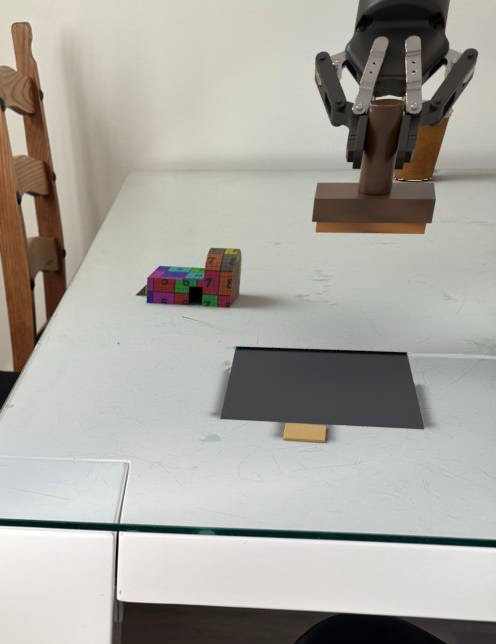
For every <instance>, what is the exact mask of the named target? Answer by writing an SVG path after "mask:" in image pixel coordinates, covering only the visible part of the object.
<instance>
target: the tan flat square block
mask: <svg viewBox="0 0 496 644" xmlns="http://www.w3.org/2000/svg"><path fill="white" fill-rule="evenodd" d="M326 439H327V425H323V424H307V423H287V422H285V425H284V431H283V435H282V441H287V442H299V443H300V442H301V443H317V444H325V443H326Z"/></svg>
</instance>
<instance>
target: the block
mask: <svg viewBox="0 0 496 644" xmlns="http://www.w3.org/2000/svg"><path fill="white" fill-rule="evenodd" d="M241 273H242V250H241V248H230V247H228V248H227V247H210V248H209V250H208V252H207V255H206V259H205V263H204V267H193V266H192V267H191V266H190V267H189V266H172V265H159V266H158V267H156V268H155V270H154V271H152V272H151V273H150V274H149V275H148V276H147V277H146V284H145V285H144V286H143V287H142V288H141V289H140V290H139V291H138V292H137V293H136V294H135V296H137V297H138V296H139V297H146V304H159V305H178V306H189V305H190V293H191V292H190V291H191V288H195V289H198V293H200V294H201V293H202V297H201V299H202V300H201V307H213V308H229V309H230V308H231V307H232V306H233V304H234V303H235V301H236V299H237V298H238V297H239V295H240V290H241V289H240V287H241V275H242V274H241Z"/></svg>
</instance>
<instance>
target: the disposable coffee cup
mask: <svg viewBox="0 0 496 644" xmlns="http://www.w3.org/2000/svg"><path fill="white" fill-rule="evenodd" d="M429 100H430V99H422V102H425V101H429ZM453 113H454V109H453V107H452V108H451V109H450V111H449V112H448V113H447V115H446V116H445V118H444V119H443V121H442V122H441V123H440V125H438V126H436V127H431V126H429V125H425V126H422V127H421V128H420V129H419V130H418V133H417V139H416V146H415V152H414V157H413V159H412V161H411V162H410V163H404V166H403V170H395V171H394V177H393V179H394V178H397V179H403V180H424V179H430V178H432V179H433V176H434V173H435V168H436V165H437V162H438V158H439V155H440V151H441V148H442V144H443V141H444V137H445V135H446V131H447V128H448V125H449V120H450V117H452V115H453Z"/></svg>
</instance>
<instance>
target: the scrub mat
mask: <svg viewBox="0 0 496 644" xmlns="http://www.w3.org/2000/svg"><path fill="white" fill-rule="evenodd" d="M228 377H229V378H228V381H227V385H226V389H225V393H224V398H223V399H224V400H223V403H222V409H221V413H220V418H219V419H220V420H227V421H229V420H231V421H249V422H250V421H251V422H269V423H290V424H306V425H326V426H329V425H330V426H350V427H367V428H369V427H370V428H386V429H387V428H388V429H389V428H390V429H406V430H425V427H424V423H423V417H422V413H421V409H420V405H419V401H418V396H417V391H416V387H415V383H414V379H413V374H412V369H411V365H410V361H409V356H408V352H407V351H391V350H389V351H387V350H386V351H385V350H359V349H358V350H357V349H329V348H328V349H327V348H304V347H303V348H299V347H298V348H297V347H275V346H274V347H273V346H272V347H270V346H242V345H241V346H240V345H236V346H235V349H234V354H233V358H232V362H231V367H230V372H229V376H228Z"/></svg>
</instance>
